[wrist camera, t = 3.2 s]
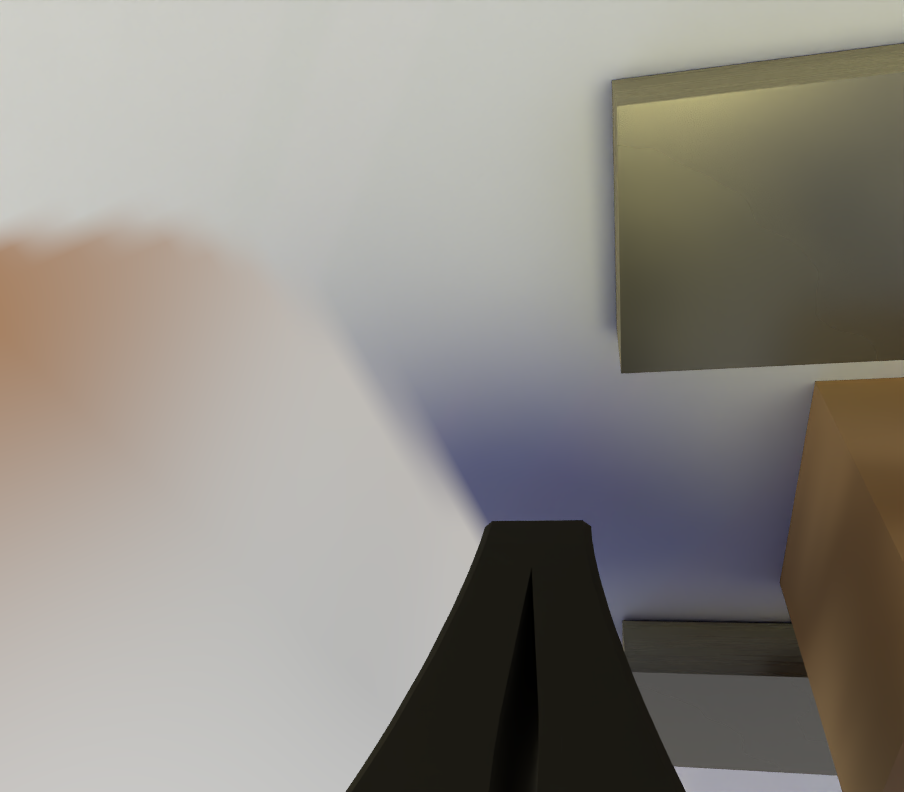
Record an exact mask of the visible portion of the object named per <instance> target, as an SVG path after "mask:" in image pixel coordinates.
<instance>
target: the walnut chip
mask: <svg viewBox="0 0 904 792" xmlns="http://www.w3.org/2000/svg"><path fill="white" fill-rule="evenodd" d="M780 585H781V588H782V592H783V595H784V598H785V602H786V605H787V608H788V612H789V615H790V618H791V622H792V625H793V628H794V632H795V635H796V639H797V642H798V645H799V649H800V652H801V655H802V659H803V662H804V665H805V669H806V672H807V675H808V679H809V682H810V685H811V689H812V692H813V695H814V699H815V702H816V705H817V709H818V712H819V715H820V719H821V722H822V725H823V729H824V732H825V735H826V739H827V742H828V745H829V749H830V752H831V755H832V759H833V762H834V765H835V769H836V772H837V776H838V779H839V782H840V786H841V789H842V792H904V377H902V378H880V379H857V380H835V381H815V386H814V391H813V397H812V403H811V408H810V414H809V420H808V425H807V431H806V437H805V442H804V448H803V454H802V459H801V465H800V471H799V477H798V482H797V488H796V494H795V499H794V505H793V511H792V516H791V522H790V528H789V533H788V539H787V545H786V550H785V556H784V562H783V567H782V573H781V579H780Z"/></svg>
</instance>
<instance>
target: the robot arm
mask: <svg viewBox="0 0 904 792" xmlns="http://www.w3.org/2000/svg"><path fill="white" fill-rule="evenodd" d="M346 792H686V791H685V789H684V787H683V785H682V783H681V781H680V779H679V777H678V775H677V773H676V771H675V769H674V767H673V764H672V762H671V760H670V758H669V756H668V754H667V752H666V750H665V747H664V745H663V743H662V741H661V739H660V736H659V734H658V732H657V730H656V727H655V725H654V723H653V721H652V718H651V716H650V714H649V712H648V709H647V707H646V705H645V703H644V700H643V698H642V695H641V693H640V691H639V688H638V686H637V683H636V681H635V679H634V676H633V673H632V671H631V668H630V666H629V663H628V660H627V658H626V655H625V652H624V650H623V647H622V644H621V642H620V639H619V637H618V634H617V631H616V628H615V625H614V622H613V620H612V617H611V614H610V611H609V607H608V604H607V601H606V597H605V594H604V591H603V587H602V584H601V580H600V576H599V572H598V568H597V564H596V559H595V554H594V548H593V542H592V533H591V526H590V525H588V524H587V523H585V522H584V521H583V520H563V521H492V522H491V523H490V524H488V525H487V526H486V527H485V529H484V532H483V535H482V538H481V541H480V544H479V547H478V550H477V552H476V555H475V557H474V560H473V563H472V565H471V568H470V570H469V572H468V575H467V577H466V579H465V582H464V584H463V586H462V588H461V590H460V593H459V595H458V597H457V599H456V601H455V604H454V606H453V608H452V610H451V612H450V614H449V616H448V618H447V620H446V622H445V624H444V626H443V628H442V630H441V632H440V634H439V636H438V638H437V640H436V642H435V644H434V646H433V648H432V650H431V652H430V654H429V656H428V658H427V659H426V661H425V663H424V665H423V667H422V669H421V670H420V672H419V674H418V676H417V677H416V679H415V681H414V682H413V684H412V686H411V688H410V690H409V691H408V693H407V695H406V696H405V698H404V700H403V702H402V703H401V705H400V707H399V709H398V710H397V712H396V714H395V716H394V717H393V719H392V721H391V722H390V724H389V726H388V727H387V729H386V731H385V732H384V734H383V735H382V737H381V739H380V740H379V742H378V744H377V745H376V747H375V748H374V750H373V751H372V753H371V754H370V756H369V757H368V759H367V761H366V762H365V764H364V765H363V767H362V768H361V770H360V771H359V773H358V774H357V776H356V777H355V779H354V780H353V782H352V783H351V785H350V786H349V788H348V789H347V790H346Z"/></svg>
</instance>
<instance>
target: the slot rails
mask: <svg viewBox="0 0 904 792" xmlns="http://www.w3.org/2000/svg"><path fill="white" fill-rule="evenodd" d="M612 113H613V164H614V216H615V267H616V319H617V337H618V347H619V357H620V366H621V373H641V372H661V371H682V370H702V369H723V368H743V367H764V366H785V365H805V364H826V363H846V362H867V361H888V360H904V43H902V44H894V45H886V46H879V47H871V48H863V49H855V50H847V51H839V52H831V53H824V54H816V55H808V56H800V57H792V58H784V59H776V60H769V61H761V62H753V63H745V64H737V65H729V66H721V67H714V68H706V69H698V70H690V71H682V72H674V73H666V74H659V75H651V76H643V77H635V78H627V79H619V80H612ZM622 628H623V650H624V652H625V655H626V658H627V660H628V663H629V666H630V668H631V671H632V673H633V676H634V679H635V681H636V683H637V686H638V688H639V691H640V693H641V695H642V698H643V700H644V703H645V705H646V707H647V709H648V712H649V714H650V716H651V718H652V721H653V723H654V725H655V727H656V730H657V732H658V734H659V736H660V739H661V741H662V743H663V745H664V747H665V750H666V752H667V754H668V756H669V758H670V760H671V762H672V764H673V766H677V767H695V768H713V769H731V770H749V771H767V772H785V773H803V774H821V775H837V772H836V769H835V765H834V762H833V759H832V755H831V752H830V749H829V745H828V742H827V739H826V735H825V732H824V729H823V725H822V722H821V719H820V715H819V712H818V709H817V705H816V702H815V699H814V695H813V692H812V689H811V685H810V682H809V679H808V675H807V672H806V669H805V665H804V662H803V659H802V655H801V652H800V649H799V645H798V642H797V639H796V635H795V632H794V628H793V625H792V624H775V623H718V622H661V621H622Z"/></svg>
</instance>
